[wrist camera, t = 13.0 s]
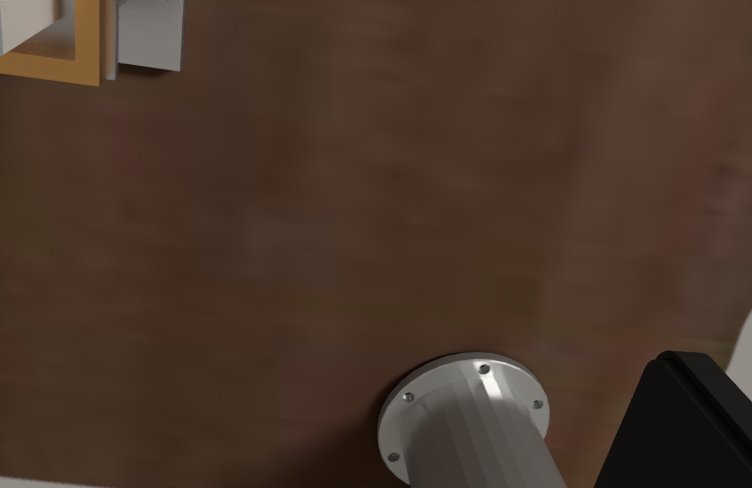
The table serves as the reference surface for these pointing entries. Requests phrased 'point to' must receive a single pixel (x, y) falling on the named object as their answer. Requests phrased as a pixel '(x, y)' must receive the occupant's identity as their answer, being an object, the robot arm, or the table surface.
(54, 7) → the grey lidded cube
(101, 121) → the table surface
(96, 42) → the grey and orange container
